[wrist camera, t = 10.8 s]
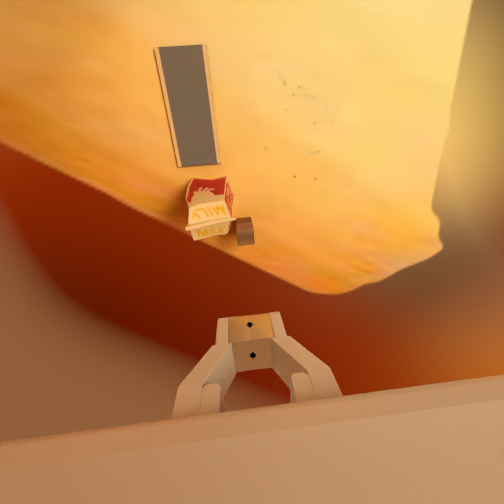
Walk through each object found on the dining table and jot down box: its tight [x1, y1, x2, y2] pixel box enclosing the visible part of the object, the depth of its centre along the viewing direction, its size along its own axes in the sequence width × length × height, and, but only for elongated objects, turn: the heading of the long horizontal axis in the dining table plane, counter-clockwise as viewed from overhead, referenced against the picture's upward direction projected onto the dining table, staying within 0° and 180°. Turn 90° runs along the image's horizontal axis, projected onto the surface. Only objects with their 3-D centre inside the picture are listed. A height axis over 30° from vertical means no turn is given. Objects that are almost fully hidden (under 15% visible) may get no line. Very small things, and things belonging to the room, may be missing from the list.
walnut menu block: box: [236, 217, 255, 246], centre depth 49 cm, size 4×4×8 cm
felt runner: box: [154, 45, 221, 167], centre depth 42 cm, size 19×9×1 cm, turn 4°
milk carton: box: [185, 176, 236, 241], centre depth 41 cm, size 9×9×20 cm
